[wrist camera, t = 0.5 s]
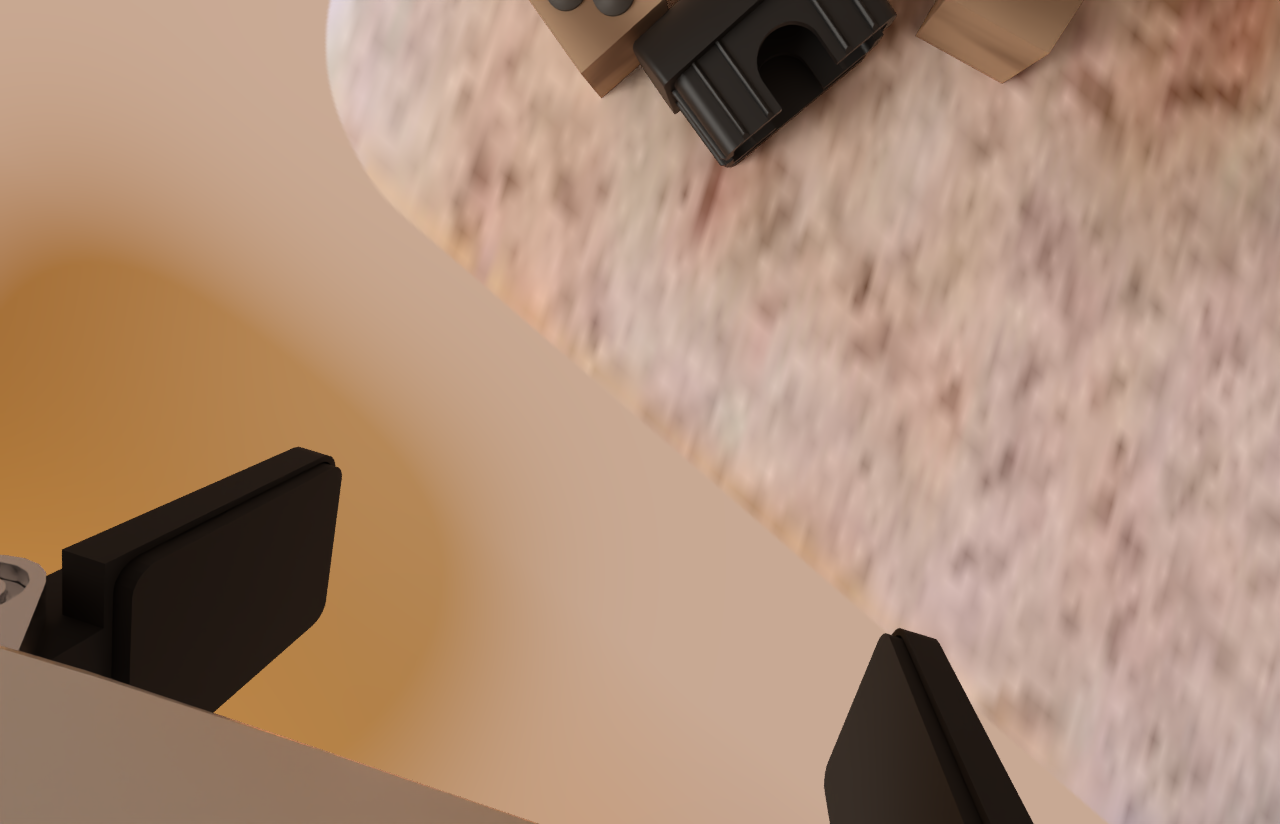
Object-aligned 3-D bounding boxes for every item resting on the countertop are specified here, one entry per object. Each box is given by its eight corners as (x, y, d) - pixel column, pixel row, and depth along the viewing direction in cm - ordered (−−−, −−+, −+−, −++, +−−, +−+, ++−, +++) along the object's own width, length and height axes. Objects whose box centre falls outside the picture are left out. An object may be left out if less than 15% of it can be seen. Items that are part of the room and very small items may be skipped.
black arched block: (796, -72, 32) (813, -156, 25) (878, 47, 32) (914, -5, 26) (641, 70, 34) (620, 27, 28) (720, 178, 35) (717, 160, 29)
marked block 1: (618, -48, 33) (598, -102, 28) (674, 34, 34) (664, -5, 29) (546, 20, 34) (514, -20, 29) (601, 98, 35) (579, 72, 30)
